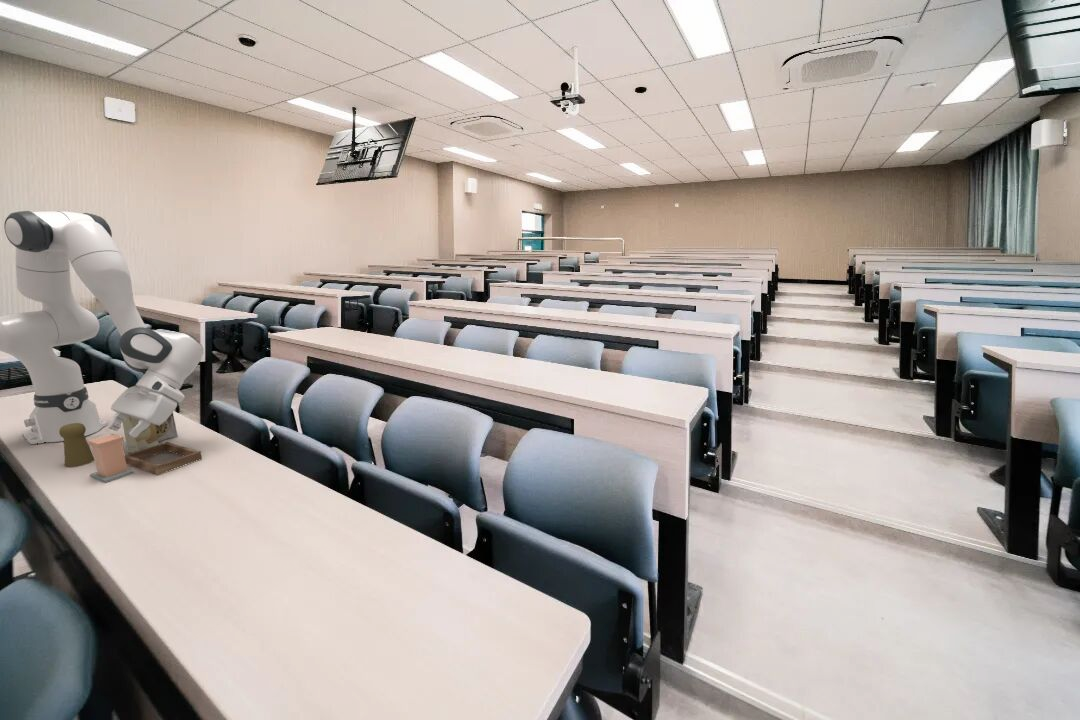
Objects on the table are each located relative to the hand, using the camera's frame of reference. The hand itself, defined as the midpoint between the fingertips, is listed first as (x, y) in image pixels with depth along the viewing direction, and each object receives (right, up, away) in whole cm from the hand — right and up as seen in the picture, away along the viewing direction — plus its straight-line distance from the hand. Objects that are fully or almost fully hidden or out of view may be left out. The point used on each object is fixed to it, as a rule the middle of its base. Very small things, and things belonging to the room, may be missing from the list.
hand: (121, 433), depth 130 cm
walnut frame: (+6, -9, +7) cm, 12 cm away
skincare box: (-6, -7, +15) cm, 18 cm away
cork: (-17, -9, +6) cm, 20 cm away
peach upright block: (-1, -10, -1) cm, 10 cm away
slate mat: (-2, -11, -1) cm, 11 cm away
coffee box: (-8, -5, +23) cm, 25 cm away
